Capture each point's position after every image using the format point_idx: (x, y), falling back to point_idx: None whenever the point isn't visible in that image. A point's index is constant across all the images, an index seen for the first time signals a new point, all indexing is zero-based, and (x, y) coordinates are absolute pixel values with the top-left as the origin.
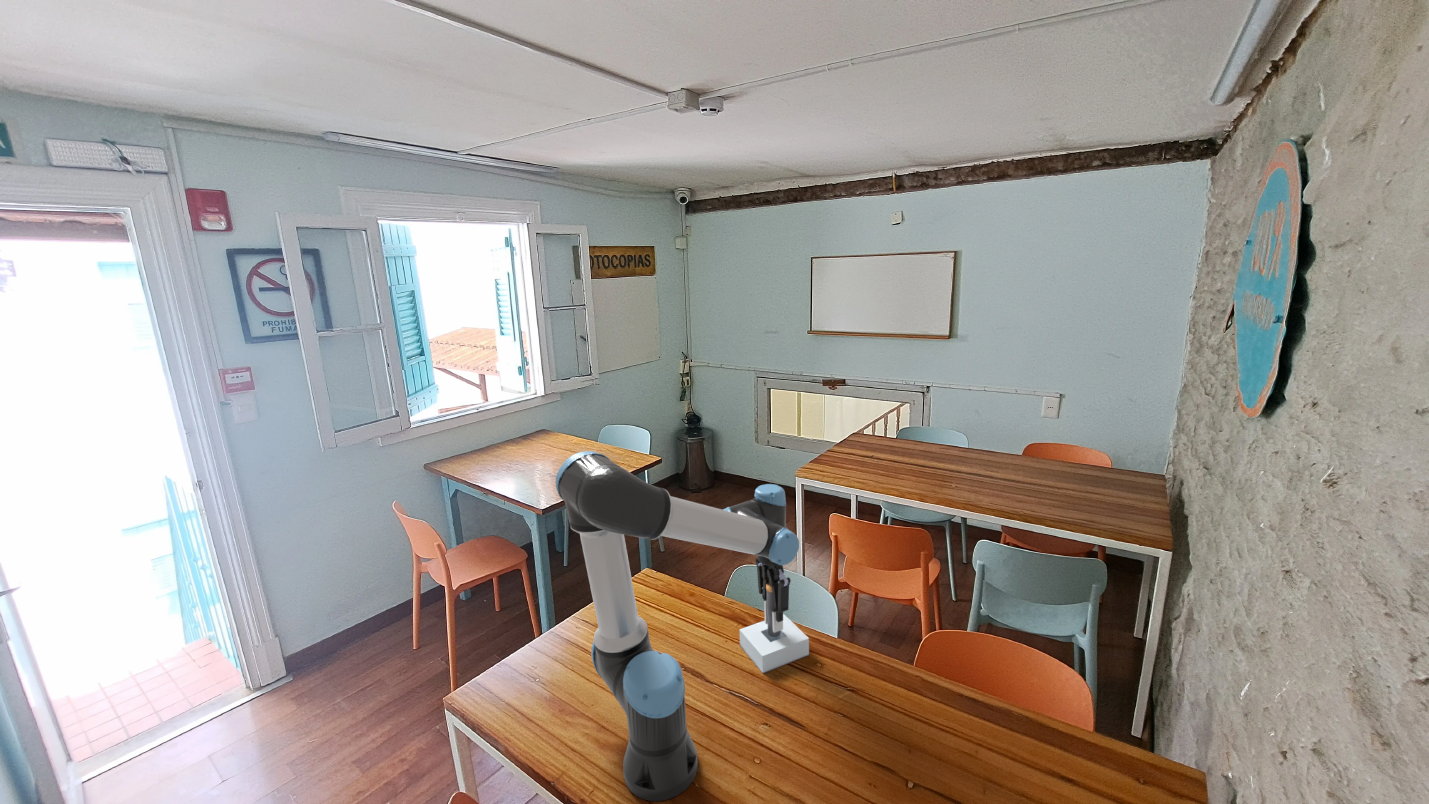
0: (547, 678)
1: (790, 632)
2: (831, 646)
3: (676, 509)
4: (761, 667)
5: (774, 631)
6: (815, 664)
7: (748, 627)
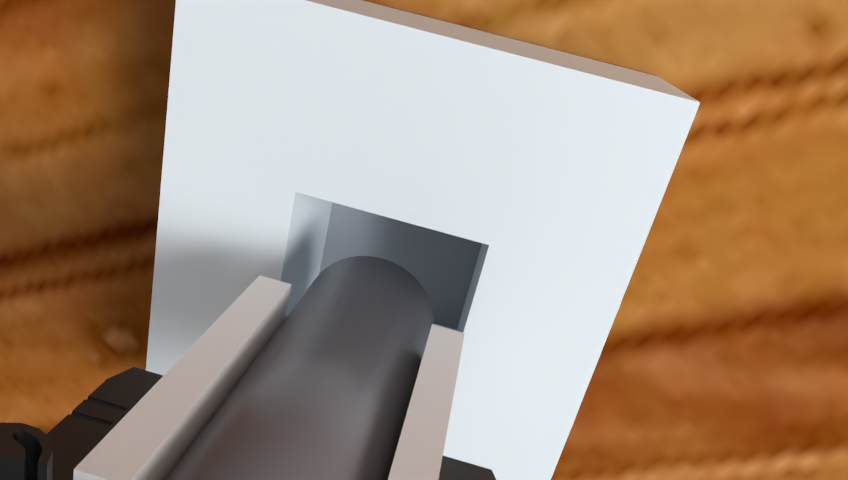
0: None
1: None
2: None
3: None
4: None
5: (253, 284)
6: (130, 324)
7: (638, 204)
